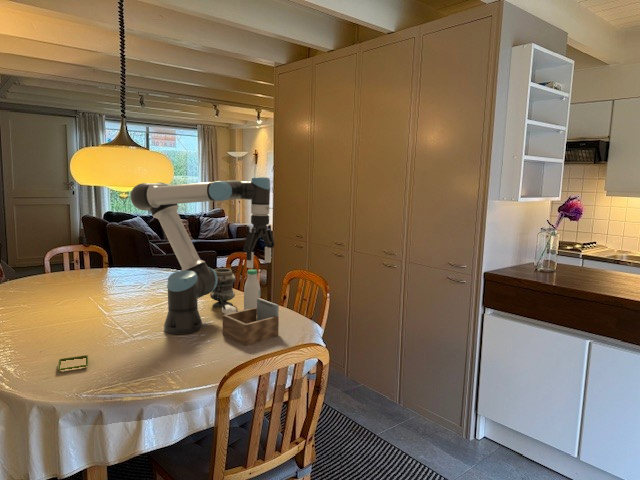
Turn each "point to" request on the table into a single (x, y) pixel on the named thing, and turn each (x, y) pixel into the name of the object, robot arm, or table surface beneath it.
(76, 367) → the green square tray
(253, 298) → the milk bottle
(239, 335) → the crate
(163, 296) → the table surface
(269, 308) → the panel
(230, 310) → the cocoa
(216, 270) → the apothecary jar
